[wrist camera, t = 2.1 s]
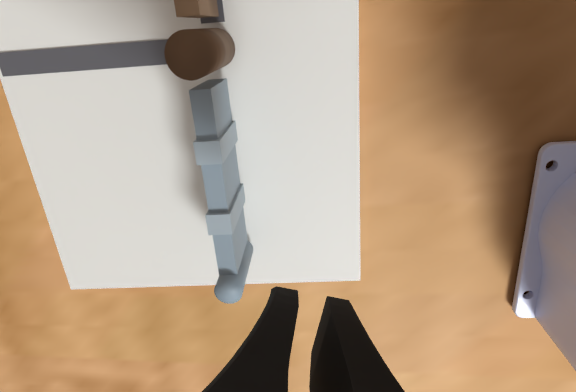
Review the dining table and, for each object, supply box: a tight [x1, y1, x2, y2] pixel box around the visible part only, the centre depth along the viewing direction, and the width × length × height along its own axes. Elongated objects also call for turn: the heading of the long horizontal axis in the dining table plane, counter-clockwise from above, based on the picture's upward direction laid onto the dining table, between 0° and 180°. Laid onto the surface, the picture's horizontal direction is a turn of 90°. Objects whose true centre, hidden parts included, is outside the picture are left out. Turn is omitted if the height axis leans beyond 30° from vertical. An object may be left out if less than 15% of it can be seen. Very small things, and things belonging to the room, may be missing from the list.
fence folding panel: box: [189, 78, 253, 303], centre depth 18 cm, size 9×1×4 cm, turn 4°
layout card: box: [0, 0, 360, 289], centre depth 18 cm, size 21×16×1 cm
